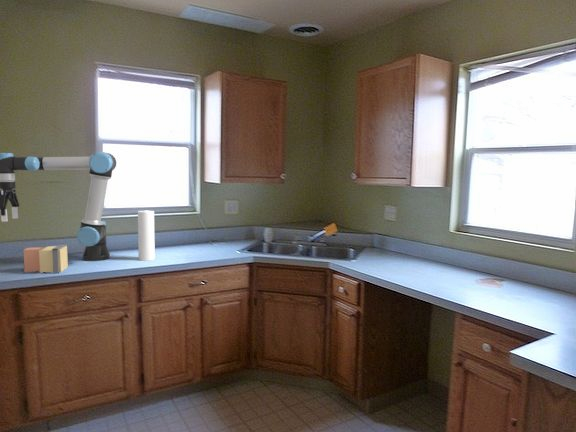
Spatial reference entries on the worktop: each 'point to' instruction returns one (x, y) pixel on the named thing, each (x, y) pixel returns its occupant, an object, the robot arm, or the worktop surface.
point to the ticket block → (53, 258)
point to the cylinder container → (146, 235)
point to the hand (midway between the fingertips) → (10, 219)
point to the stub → (32, 259)
